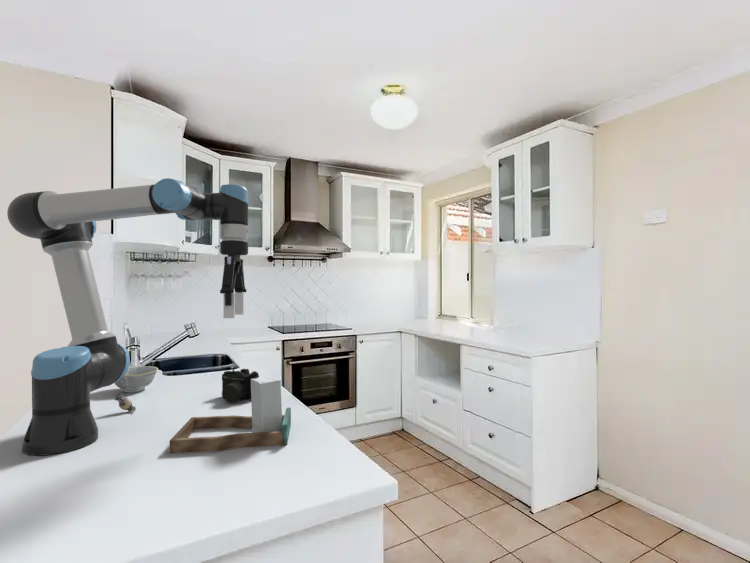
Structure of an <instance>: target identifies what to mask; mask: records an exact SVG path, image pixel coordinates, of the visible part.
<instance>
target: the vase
mask: <svg viewBox="0 0 750 563" xmlns="http://www.w3.org/2000/svg"><path fill="white" fill-rule="evenodd" d="M113 400H114V401H117V403H118V407H119V408H120V409H121V410H123V411H127V412H128V413H125V414H126V415H127V414H128V415H129V414H131V415H133V413H134V411H136V407H137V406H136V405H135V406H134V405H133V400H131V399H130V398H129V397H123V396H122V394H120V393H119V394H118V395H117V396H116V397H114V398H113Z"/></svg>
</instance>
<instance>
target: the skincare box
mask: <svg viewBox="0 0 750 563" xmlns="http://www.w3.org/2000/svg"><path fill="white" fill-rule="evenodd" d="M281 381H282V380H281V379H279V378H276V377H274V376H271V375H267V376H266V375H265V376H261V377H260V376H259V378H253V379H251V399H250V401H251V416H252V429H251V431H252V432H251V433H256V432H276V431H282V415H283V409H282V384H281Z"/></svg>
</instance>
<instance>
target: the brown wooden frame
mask: <svg viewBox="0 0 750 563" xmlns="http://www.w3.org/2000/svg"><path fill="white" fill-rule="evenodd" d="M291 409H292V407H286V408H285V413H284V414H282V431H276V432H256V433H252V432H239V433H232V434H226V435H221V436H202V437H201V436H200V437H199V436H197V437H190V436H191V435H192V433H194V431H195V430H210V429H211V430H212V429H231V428H232V429H243V430H245V429H246V430H247V429H248V430H250V429H251V430H252V415H251V416H245V415H244V416H243V415H215V416H212V415H211V416H194V417H193V416H192V417H190V418H189V420H187V422H185V424H183V425H182V427H181V428H179V430H178V431H177V432H176V433H175V434H174V435H173V437H171V438H170V440H169V454H185V453H187V454H188V453H201V452H203V453H204V452H205V453H206V452H218V451H219V452H220V451H225V450H230V449H236V448H248V447H249V448H252V447H253V448H254V447H269V446H270V447H271V446H272V447H273V446H287V445H288V443H289V436H290V431H291V427H292V426H291V425H292V410H291Z"/></svg>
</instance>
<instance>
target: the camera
mask: <svg viewBox="0 0 750 563" xmlns="http://www.w3.org/2000/svg"><path fill="white" fill-rule="evenodd" d="M259 377H260V375H259V372H257V371H255V370H254V371H251V373H250V370H249V368H242V369H240V370H235V369H234V368H233V369H232V370H225V371H223V373H222V374H221V381H222V384H221V385H222V389H221V397H222V399H223V401H225V402H227V403H228V404H229V403H231V404H232V403H237V401H245V400H246V401H247V400H251V379H253V378H259Z"/></svg>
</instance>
